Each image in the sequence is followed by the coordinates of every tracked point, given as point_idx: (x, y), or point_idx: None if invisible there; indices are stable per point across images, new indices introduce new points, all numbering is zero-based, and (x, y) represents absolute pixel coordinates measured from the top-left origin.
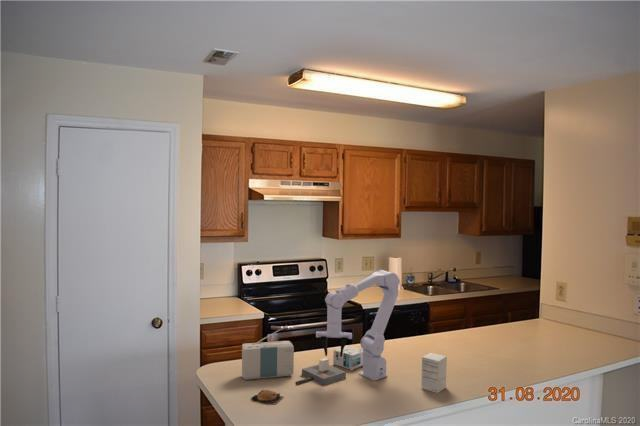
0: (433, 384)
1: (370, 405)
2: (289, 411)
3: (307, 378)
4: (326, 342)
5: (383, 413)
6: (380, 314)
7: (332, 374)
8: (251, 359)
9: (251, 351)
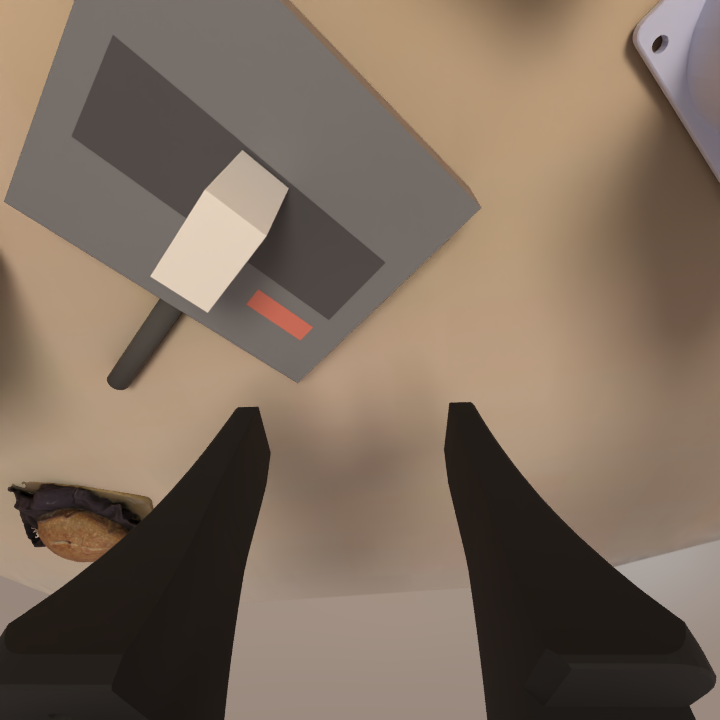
0: None
1: (566, 512)
2: None
3: (157, 326)
4: (220, 664)
5: (603, 550)
6: None
7: (350, 294)
8: None
9: None
